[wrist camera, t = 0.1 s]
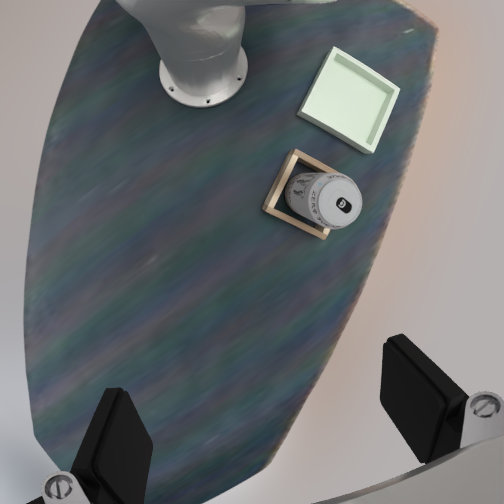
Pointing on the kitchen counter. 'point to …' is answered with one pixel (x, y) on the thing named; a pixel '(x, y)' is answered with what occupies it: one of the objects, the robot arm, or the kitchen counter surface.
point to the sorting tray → (349, 101)
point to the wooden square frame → (280, 183)
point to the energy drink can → (324, 198)
